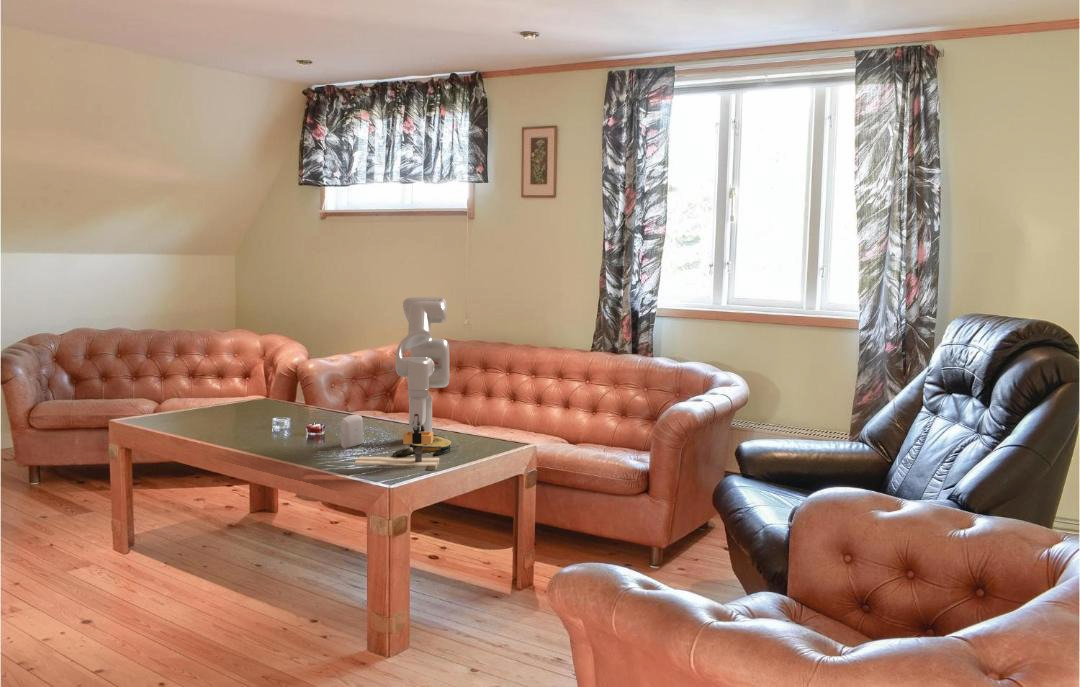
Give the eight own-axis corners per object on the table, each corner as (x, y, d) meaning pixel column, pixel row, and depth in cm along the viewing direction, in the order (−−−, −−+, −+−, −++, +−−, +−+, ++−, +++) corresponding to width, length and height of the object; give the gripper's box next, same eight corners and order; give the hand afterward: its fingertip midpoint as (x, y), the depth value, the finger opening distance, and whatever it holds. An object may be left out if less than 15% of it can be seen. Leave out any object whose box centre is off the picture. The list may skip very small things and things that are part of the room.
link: (406, 439, 327) (406, 431, 327) (433, 440, 327) (433, 431, 327) (403, 444, 320) (403, 435, 320) (430, 444, 320) (430, 435, 320)
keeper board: (359, 460, 331) (359, 442, 330) (439, 461, 331) (439, 443, 330) (352, 468, 319) (352, 449, 318) (435, 469, 319) (435, 450, 318)
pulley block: (382, 440, 334) (437, 429, 358) (380, 455, 335) (436, 442, 359) (407, 452, 326) (463, 439, 349) (406, 466, 327) (461, 453, 350)
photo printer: (347, 448, 349) (347, 418, 348) (339, 447, 351) (339, 416, 350) (364, 443, 358) (364, 413, 357) (356, 442, 360) (356, 412, 359)
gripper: (411, 389, 330) (411, 436, 332) (404, 397, 313) (404, 446, 315) (431, 390, 330) (431, 436, 332) (425, 397, 313) (425, 446, 315)
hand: (418, 441), depth 324 cm, fingers closed on link, 7 cm apart
